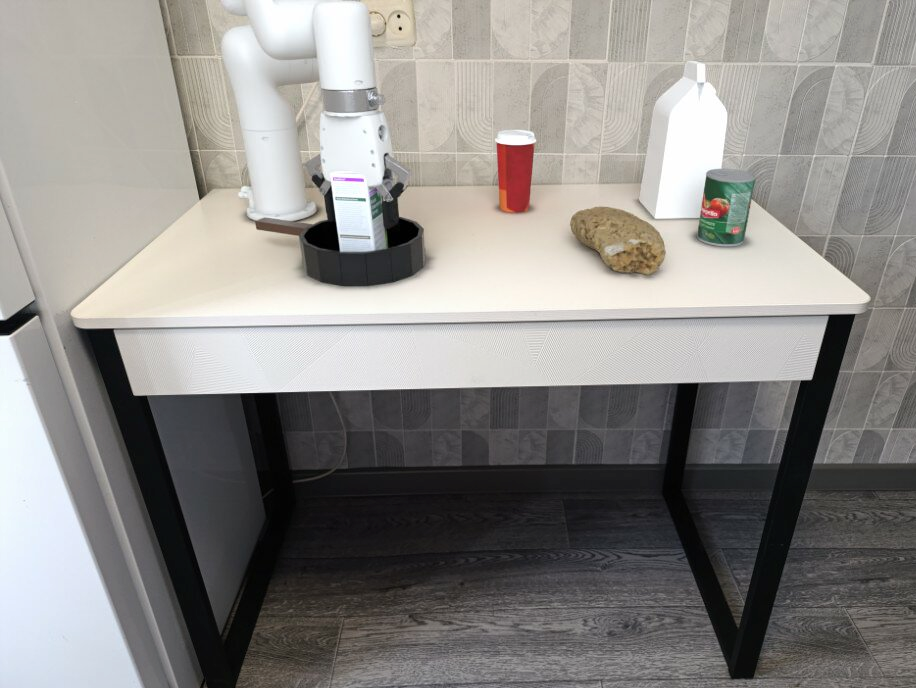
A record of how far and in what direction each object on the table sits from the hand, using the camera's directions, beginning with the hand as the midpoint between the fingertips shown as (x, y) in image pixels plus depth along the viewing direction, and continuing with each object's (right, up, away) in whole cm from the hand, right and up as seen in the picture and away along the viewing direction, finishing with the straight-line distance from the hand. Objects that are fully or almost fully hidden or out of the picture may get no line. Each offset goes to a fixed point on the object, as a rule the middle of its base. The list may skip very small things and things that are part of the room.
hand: (362, 222), depth 104 cm
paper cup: (+23, +9, +30) cm, 39 cm away
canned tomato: (+58, 0, +15) cm, 60 cm away
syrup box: (0, -6, +4) cm, 7 cm away
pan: (-5, -5, +5) cm, 9 cm away
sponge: (+39, -4, +8) cm, 40 cm away
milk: (+55, +9, +30) cm, 63 cm away
